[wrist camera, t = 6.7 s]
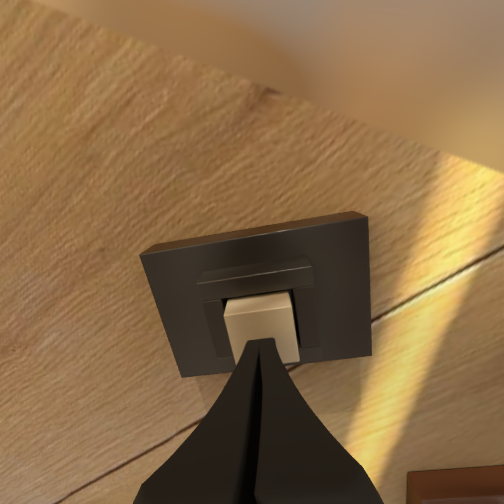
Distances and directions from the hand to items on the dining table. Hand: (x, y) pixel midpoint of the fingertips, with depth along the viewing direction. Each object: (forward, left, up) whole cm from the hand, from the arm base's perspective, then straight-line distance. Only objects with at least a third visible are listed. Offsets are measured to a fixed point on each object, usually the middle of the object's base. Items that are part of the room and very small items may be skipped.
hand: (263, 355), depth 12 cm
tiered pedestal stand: (0, 0, -6) cm, 6 cm away
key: (0, 0, -3) cm, 3 cm away
